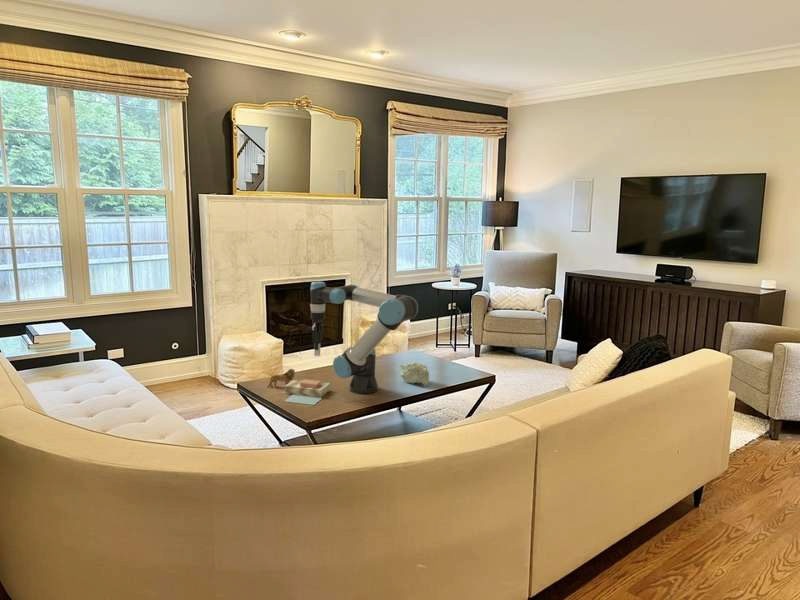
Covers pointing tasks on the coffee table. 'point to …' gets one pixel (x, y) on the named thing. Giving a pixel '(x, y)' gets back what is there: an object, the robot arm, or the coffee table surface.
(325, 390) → the plate
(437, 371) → the coffee table surface
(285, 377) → the lion figurine
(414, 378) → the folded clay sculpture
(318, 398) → the mat
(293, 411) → the coffee table surface
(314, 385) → the tile
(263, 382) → the coffee table surface
